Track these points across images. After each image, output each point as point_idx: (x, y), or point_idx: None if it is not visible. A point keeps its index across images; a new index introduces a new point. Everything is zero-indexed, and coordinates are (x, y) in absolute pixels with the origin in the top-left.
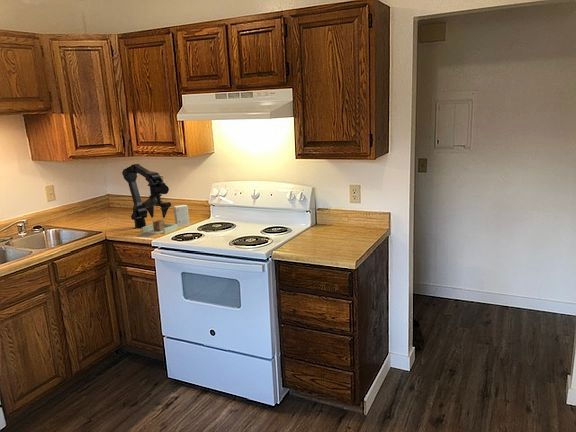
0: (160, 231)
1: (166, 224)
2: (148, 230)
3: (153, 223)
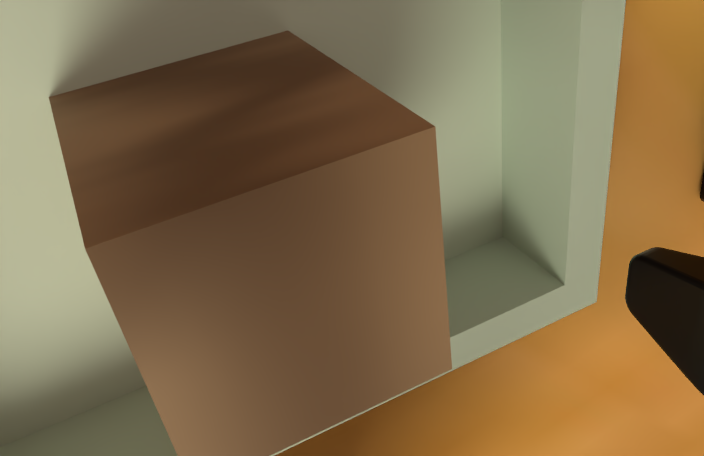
0: (31, 102)
1: None
2: (480, 2)
3: (371, 109)
